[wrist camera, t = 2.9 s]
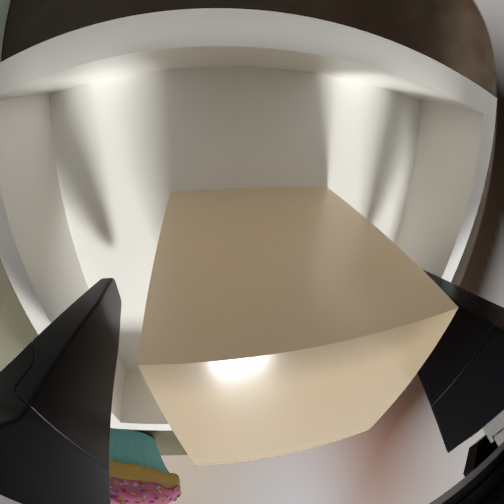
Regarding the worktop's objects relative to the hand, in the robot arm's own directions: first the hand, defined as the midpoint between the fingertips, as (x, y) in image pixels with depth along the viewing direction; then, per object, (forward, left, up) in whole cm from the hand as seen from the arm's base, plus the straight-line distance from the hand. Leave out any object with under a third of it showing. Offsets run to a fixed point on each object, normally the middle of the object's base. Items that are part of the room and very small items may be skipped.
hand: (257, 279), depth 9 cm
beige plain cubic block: (0, 0, -1) cm, 1 cm away
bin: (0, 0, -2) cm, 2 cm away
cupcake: (-10, -18, -2) cm, 21 cm away
